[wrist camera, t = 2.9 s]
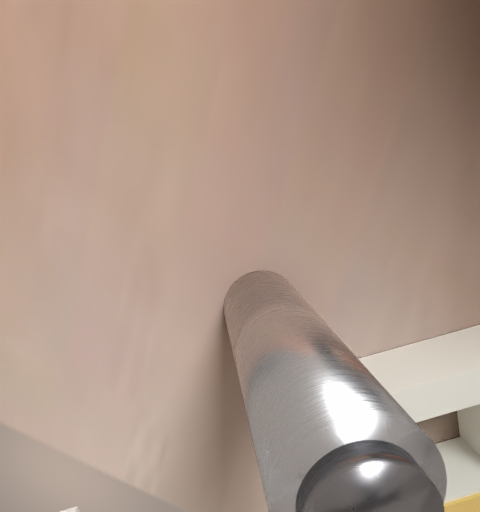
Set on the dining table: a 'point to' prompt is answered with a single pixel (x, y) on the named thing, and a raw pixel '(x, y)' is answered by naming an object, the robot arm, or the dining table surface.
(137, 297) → the dining table surface
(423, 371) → the socket board
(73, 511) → the robot arm
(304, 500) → the plug
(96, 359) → the dining table surface
